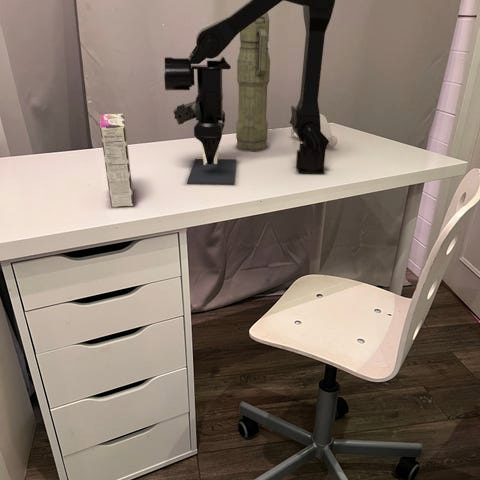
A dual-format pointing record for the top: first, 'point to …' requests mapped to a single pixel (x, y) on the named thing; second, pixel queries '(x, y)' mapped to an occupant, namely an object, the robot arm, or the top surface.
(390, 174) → the top surface
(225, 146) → the top surface
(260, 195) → the top surface
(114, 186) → the candy bar box
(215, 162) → the milkshake
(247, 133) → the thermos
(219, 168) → the mat
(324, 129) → the superhero figure
